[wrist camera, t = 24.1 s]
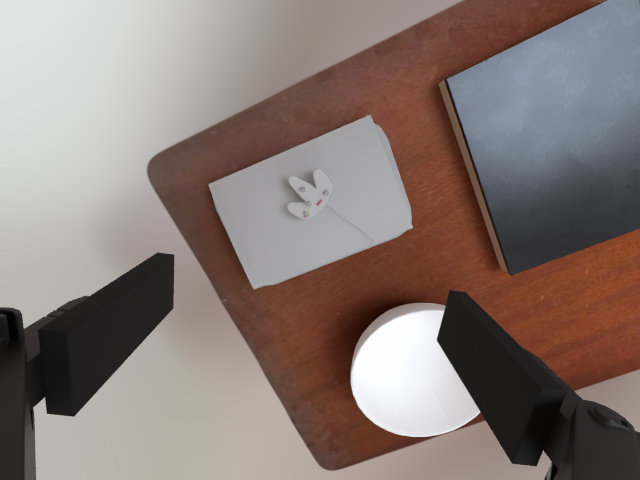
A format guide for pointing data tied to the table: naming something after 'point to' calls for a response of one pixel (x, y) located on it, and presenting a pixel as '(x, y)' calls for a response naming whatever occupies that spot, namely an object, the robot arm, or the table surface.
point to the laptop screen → (557, 134)
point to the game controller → (312, 195)
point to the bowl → (409, 374)
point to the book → (276, 194)
